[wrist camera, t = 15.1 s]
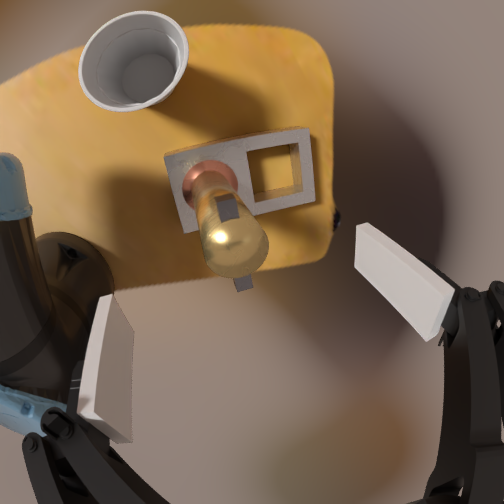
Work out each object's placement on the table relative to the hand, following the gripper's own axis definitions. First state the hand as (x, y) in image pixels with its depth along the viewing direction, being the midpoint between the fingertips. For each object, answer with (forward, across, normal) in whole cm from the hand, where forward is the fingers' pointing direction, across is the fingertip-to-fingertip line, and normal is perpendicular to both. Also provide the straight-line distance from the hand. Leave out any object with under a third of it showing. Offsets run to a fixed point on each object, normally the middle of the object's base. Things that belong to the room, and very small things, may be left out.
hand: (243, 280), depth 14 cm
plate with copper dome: (+20, +5, 0) cm, 21 cm away
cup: (+21, -3, +13) cm, 25 cm away
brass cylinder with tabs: (+17, 0, 0) cm, 17 cm away
